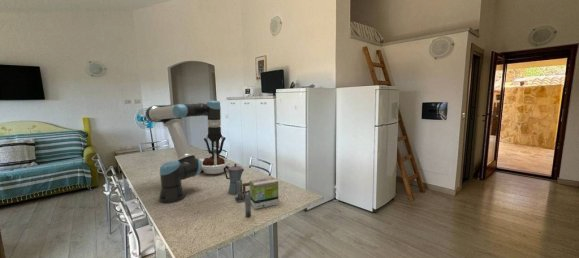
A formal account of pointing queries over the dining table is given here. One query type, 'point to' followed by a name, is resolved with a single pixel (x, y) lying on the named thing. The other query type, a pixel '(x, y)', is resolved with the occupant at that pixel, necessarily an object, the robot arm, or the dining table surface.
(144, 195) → the dining table surface
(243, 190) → the gate
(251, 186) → the tea box
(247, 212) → the gate posts
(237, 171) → the moka pot
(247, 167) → the dining table surface
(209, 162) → the bowl of brown food
